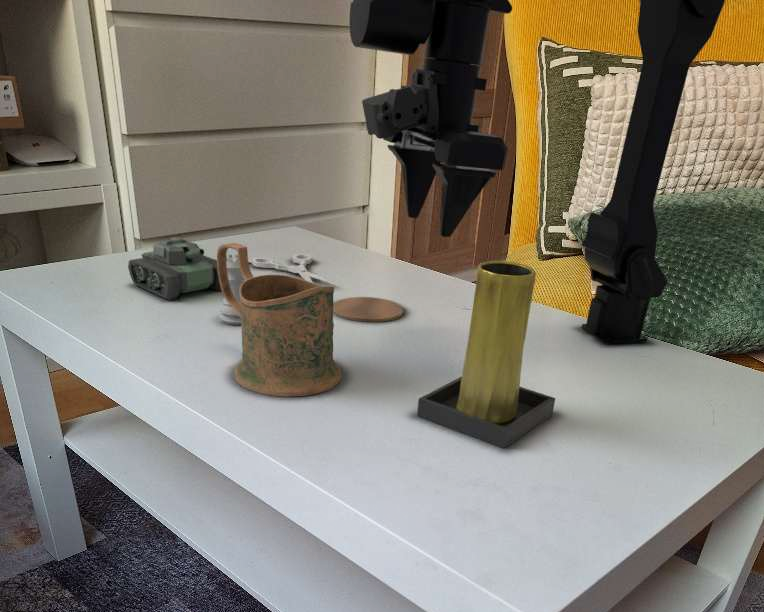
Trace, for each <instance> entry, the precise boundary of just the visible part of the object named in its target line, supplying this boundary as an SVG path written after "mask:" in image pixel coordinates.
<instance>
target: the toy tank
mask: <svg viewBox="0 0 764 612" xmlns="http://www.w3.org/2000/svg"><path fill="white" fill-rule="evenodd" d="M204 254H205V250H204V249H203V248H200V246H199V245H198V244H197V243H195V242H192V241H189V240H187V239H184V238H181V237H171V238H170V236H168V237H167V238H165V239H163V240H161V241H160V242H157V243H156V244H154V245H153V251H147V252H143V253H142V254H141V258H133V259H129V260H128V265H127V268H128V272H129V276H130V279H131V281H132V283H133V284H134V285H135V286H137V287H139V288H141V289H143V290H146V291H149V292H150V293H152V294H155V295H156V296H159V297H161V298H164V299H166V300H168V301H174V300H177V299H178V297H179V295H180V293H183V294H185V293H190V292H195V291H200V290H201V291H202V290H206V289H208V288H211V289H213V290H215V291H222V290H221V287H220V282H219V277H218V269H217V259H215V258H212V257H210V256H207V255H204Z"/></svg>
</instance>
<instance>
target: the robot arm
mask: <svg viewBox="0 0 764 612" xmlns="http://www.w3.org/2000/svg"><path fill="white" fill-rule="evenodd" d="M639 2H640V3H639V12H638V21H637V22H638V23H637V36H638V41H639V46H640V51H641V57H642V63H641V64H642V65H641V69H640V73H639V78H638V83H637V87H636V91H635V96H634V99H633V104H632V108H631V112H630V117H629V121H628V126H627V129H626V134H625V139H624V143H623V147H622V151H621V155H620V161H619V164H618V168H617V173H616V176H615V177H616V178H615V182H614V186H613V189H612V194H611V198H610V200H609V201H608V203H607V204H606V205H605V206H604V208H603V210H602V211H601V212H600V213H596V212H591V213H589V216H588V219H587V228H586V233H585V237H584V239H583V241H582V242H581V247H583V248H585V249H584V260H585V262H586V263H587V265H588V266H589V273H590V280H591V281H592V282H595V283H598V284H599V285H596V289H595V294H594V297H592V298H591V300H590V304H589V308H588V313H587V318H586V323H582V324H581V327H580V328H581V329H582V330H583V331H585V332H587V333H588V334H590V335H591V336H592V337H594V338H596V339H597V340H598V341H600V342H601V343H603V344H605V345H612V344H628V343H629V344H630V343H646V342H648V340H649V337H648V336H646V335H645V334H643V333H642V332H643V328H644V324H645V321H646V317H647V312H648V309H649V305H650V301H651V300H652V299H653V298H655V299H657V298H660V297H661V295H662V294H663V292H664V290H665V288H666V287H667V284H668V279H667V277H666V275H665V273H664V272H663V270H662V269H661V268H660V266H659V264H658V262H657V260H656V253H657V245H658V236H659V229H658V225H657V219H656V215H655V209H654V204H655V199H656V195H657V191H658V188H659V184H660V180H661V175H662V173H663V169H664V165H665V161H666V157H667V153H668V149H669V146H670V142H671V138H672V134H673V130H674V127H675V123H676V119H677V115H678V111H679V108H680V104H681V101H682V96H683V92H684V88H685V84H686V81H687V76H688V73H689V69H690V67H691V65H692V63H693V62H694V60H695V59H696V57H697V56H698V55H699V54H700V52H701V51H702V49H704V47H705V45H706V44H707V43H708V41H709V40H710V39H711V37H712V36H713V33H714V31H715V28H716V25H717V23H718V20H719V19H720V16H721V13H722V10H723V7H724V5H725V2H726V0H639ZM512 11H513V4H511V2H510V1H509V0H352V1H351V2H350V6H349V21H348V22H349V35H350V39H351V43H352V45H353V46H354V47H355V48H358V49H359V48H360V49H366V50H371V51H372V50H373V51H381V52H385V53H386V52H387V53H393V54H399V55H406V56H412V55H414V54H415V53H416V52H417V50H418V49H419V46H420V45H425V50H424V56H423V57H424V58H423V64H422V69H420V68H415V71H413V72H412V75H411V81H410V85H409V86H408V85H401V86H400V88H395V89H394V88H391V89H389V90H388V91H386V92H383V93H380V94H376V95H373V96H370V97H367V98H364V99H362V100H361V104H362V109H363V114H364V119H365V125H366V129H367V135H369V136H372V135H374V136H375V137H376V138H377V139H378V140H380V139H382V140H383V141H385V142H388V143H391V144H387V145H386V147H387V149H388V150H389V151H391V153H392V154H393V155H394V157H395V158H396V159H397V161H398V162H399V163H400V168H401V173H402V179H403V188H404V195H405V197H404V198H405V202H406V203H405V204H406V213H407V217H408V218H410V219H418V217H419V215H420V214H421V211H422V209H423V207H424V205H425V202H426V201H427V198H428V194H429V192H430V190H431V187H432V185H433V183H434V180H435V177H436V175H437V176H438V177H439V179H440V181H441V194H440V195H441V197H440V214H439V218H440V219H439V235H440V237H442V238H450V237H452V236H453V234H454V232H455V231H456V229H457V228H458V226H459V224H460V223H461V221H462V220H463V218H464V217H465V216H466V214H467V212H468V211H469V210H470V208H471V206H472V205H473V203H474V201H475V200H476V199H477V198H478V196H479V195H480V194H481V192H482V191H483V189H484V188H485V187H486V186H487V184H488V183H489V181H490V180H491V179H493V178H496V176H497V171H505V167H506V163H507V162H506V160H507V157H508V153H509V152H508V151H509V148H508V146H507V144H506V143H505V141H504V139H503V137H500V136H497V135H493V134H491V133H487V132H480V131H479V128H480V125H478V124H474V123H473V118H474V112H475V106H476V99H477V94H478V91H484V92H485V91H486V88H487V81H488V79H487V78H482V77H480V76H481V70H482V63H483V57H484V51H485V46H486V41H487V34H488V28H489V22H490V15H491V14H493V15H494V14H495V15H498V14H500V15H501V14H502V15H503V14H504V15H506V14H507V15H509V14H511V13H512ZM432 148H434V149H432Z"/></svg>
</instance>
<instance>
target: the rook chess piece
mask: <svg viewBox="0 0 764 612" xmlns="http://www.w3.org/2000/svg"><path fill="white" fill-rule="evenodd" d="M226 263H227V274H228V280H229V284H230V288H231V291H232V293H233V295H234V297H235V298H236V300H237V301H238V302H239V303H240V294H239V289H240V286H241V284H242V283H243V282H244V281H245V279H244V278H243V276H242V273H241V270H240V267H239V261H238V253H234V257H233V254H232V253H228V254H226ZM219 312H220V315H219V320H221V322H222V323H223V324H225V325H229V326H241V318H240V316H239V315H238V313H237V312H236V311H235V310H234V309H233V308H232V307H231V306H230V305H229V303H228V302H227V301H226V299H225V297H224V296H223V300H222V303H221V304H220V305H219Z"/></svg>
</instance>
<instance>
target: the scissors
mask: <svg viewBox="0 0 764 612" xmlns="http://www.w3.org/2000/svg"><path fill="white" fill-rule="evenodd" d="M312 261H313V259H312V256H311V255H309V254H304V253H298V254H293V256H292V262H293V263H294V264H298V265H297V266H295V265H287V264H280V263H277V262H275V260H274V259H272V258H268V257H267V258H266V257H251V256H248V263H249V264H250V263H251V265H252V266H253V267H256V268H257V267H258V268H265V269H266V268H271V269H276V270H282V271H288V272H290V273H293V274H298V275H300V276H301V278H302V279H303V280H306V281H309V282H312V283H314V282H313V280H312V278H313V279H317V280H320V281H323V282H326V283H329V284H332V285H335V286H336V285H337V286H338V284H337V283H335V282H334V281H331V280H329V279H328V278H327V279H326V278H325V277H322V276H320V275H317V274H315V273H312V272H311V271H308V270H307V268H306V267H307V264H308V265H309V264H311V263H312Z"/></svg>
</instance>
